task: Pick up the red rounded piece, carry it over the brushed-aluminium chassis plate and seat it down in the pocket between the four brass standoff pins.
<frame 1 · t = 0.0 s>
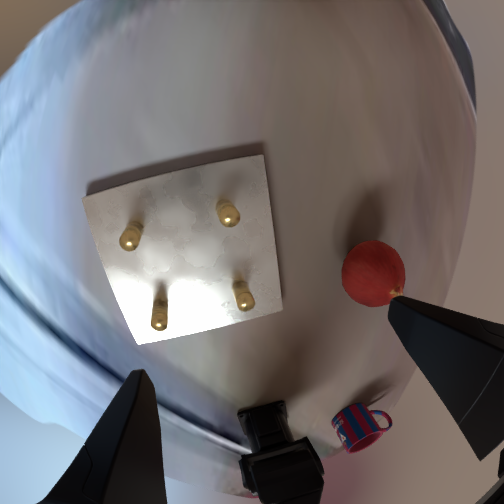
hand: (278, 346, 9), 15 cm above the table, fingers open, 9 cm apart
mug: (355, 411, 40), on the table
red rounded piece: (350, 256, 26), on the table
chassis: (189, 256, 22), on the table
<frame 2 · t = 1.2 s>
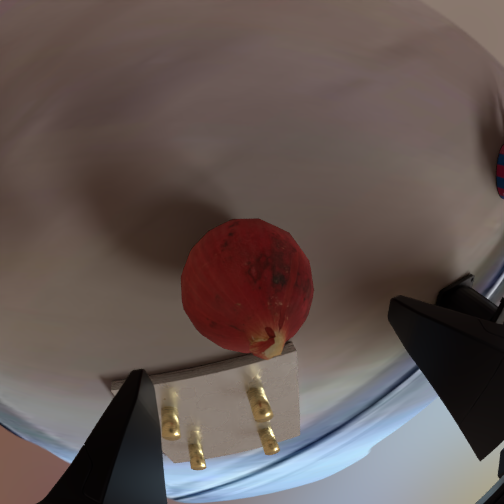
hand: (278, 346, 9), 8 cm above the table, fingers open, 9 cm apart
red rounded piece: (231, 251, 16), on the table
chassis: (219, 415, 21), on the table
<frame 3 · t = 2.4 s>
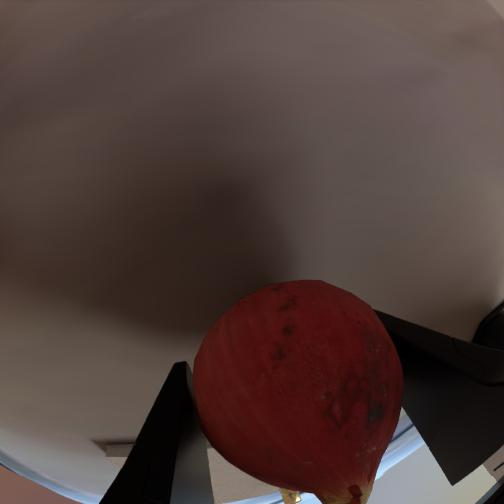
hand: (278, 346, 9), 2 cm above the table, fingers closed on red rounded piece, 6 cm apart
red rounded piece: (261, 309, 11), on the table, touching gripper
chassis: (234, 470, 16), on the table
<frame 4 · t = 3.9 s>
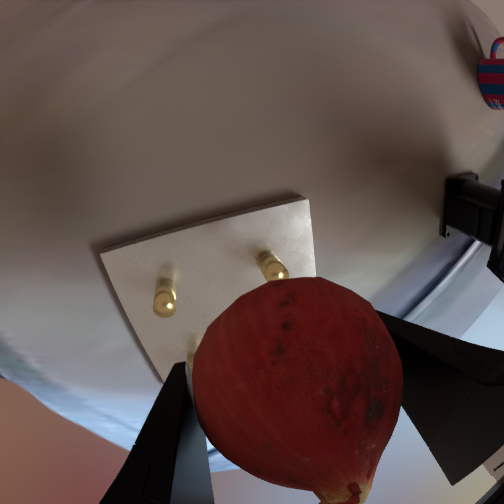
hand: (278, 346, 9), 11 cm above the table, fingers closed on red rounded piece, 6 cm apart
mug: (487, 72, 18), on the table
red rounded piece: (261, 307, 11), point 9 cm above the table, touching gripper
chassis: (225, 307, 21), on the table
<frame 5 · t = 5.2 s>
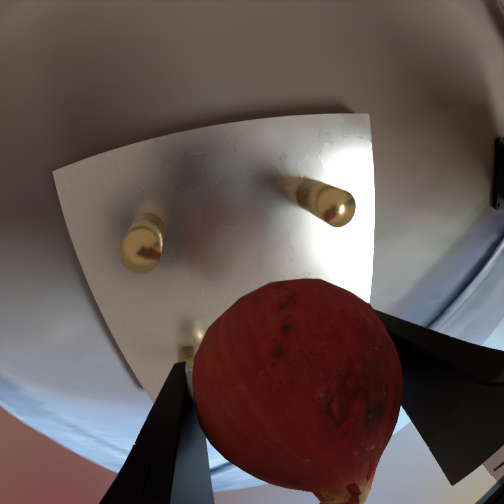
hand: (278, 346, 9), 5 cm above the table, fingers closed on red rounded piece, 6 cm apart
red rounded piece: (261, 308, 11), point 3 cm above the table, touching gripper
chassis: (240, 274, 14), on the table
when the fingers open (4 cm above the table, at t = 5.9 s): red rounded piece drops 1 cm, resting on chassis.
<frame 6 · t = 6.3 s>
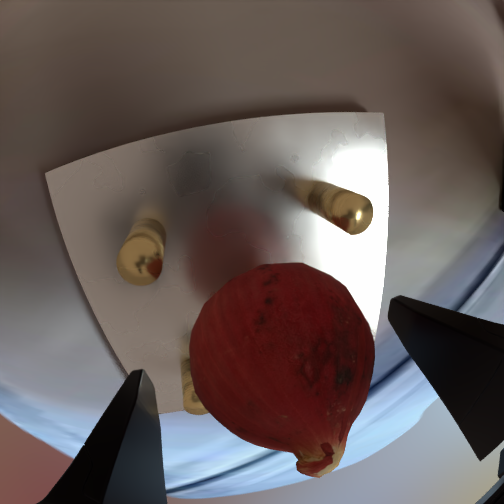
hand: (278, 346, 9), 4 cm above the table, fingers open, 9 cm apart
red rounded piece: (253, 290, 12), point 1 cm above the table, touching chassis
chassis: (247, 282, 13), on the table
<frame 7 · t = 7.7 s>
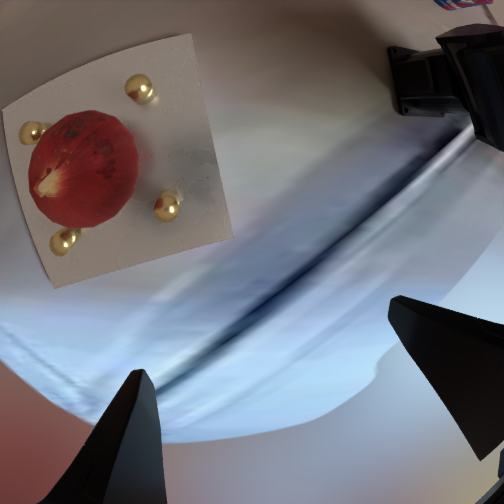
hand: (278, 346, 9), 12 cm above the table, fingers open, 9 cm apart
red rounded piece: (103, 163, 15), point 1 cm above the table, touching chassis
chassis: (106, 163, 15), on the table
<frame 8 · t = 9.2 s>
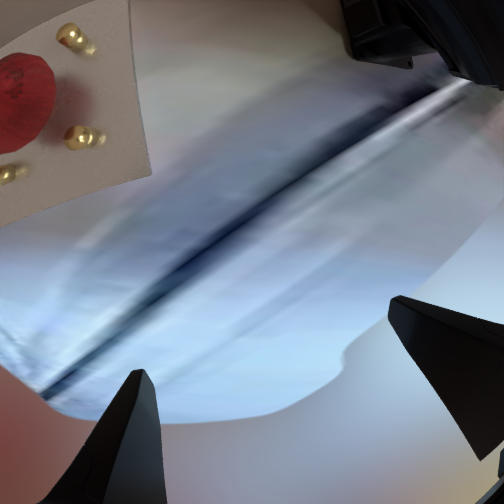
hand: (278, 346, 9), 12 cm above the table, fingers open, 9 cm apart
red rounded piece: (40, 107, 12), point 1 cm above the table, touching chassis
chassis: (44, 108, 13), on the table
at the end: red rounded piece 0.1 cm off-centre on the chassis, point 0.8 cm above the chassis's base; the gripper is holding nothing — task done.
